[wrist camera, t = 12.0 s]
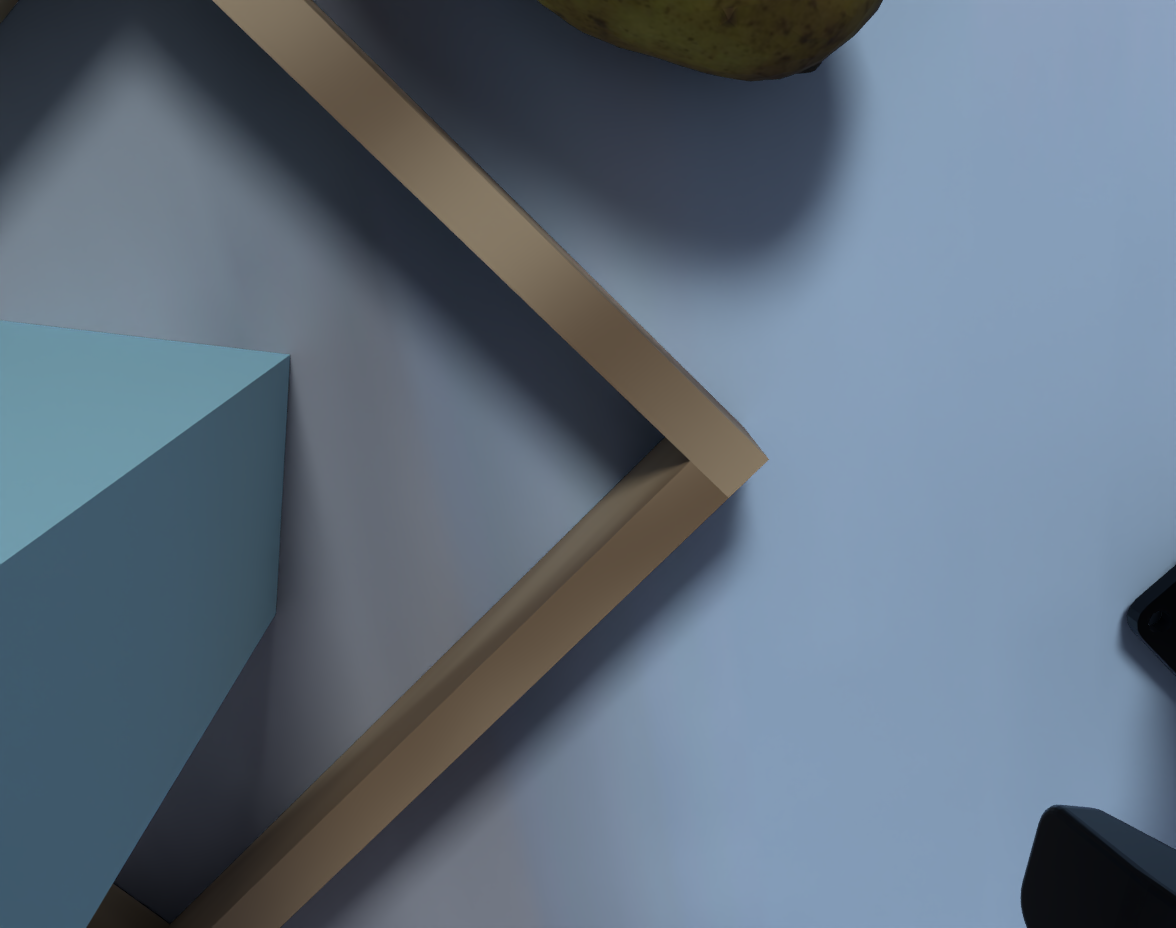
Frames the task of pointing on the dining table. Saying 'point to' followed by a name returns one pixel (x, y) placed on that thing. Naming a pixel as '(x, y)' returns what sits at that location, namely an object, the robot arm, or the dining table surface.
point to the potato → (724, 31)
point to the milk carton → (121, 587)
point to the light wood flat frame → (558, 581)
